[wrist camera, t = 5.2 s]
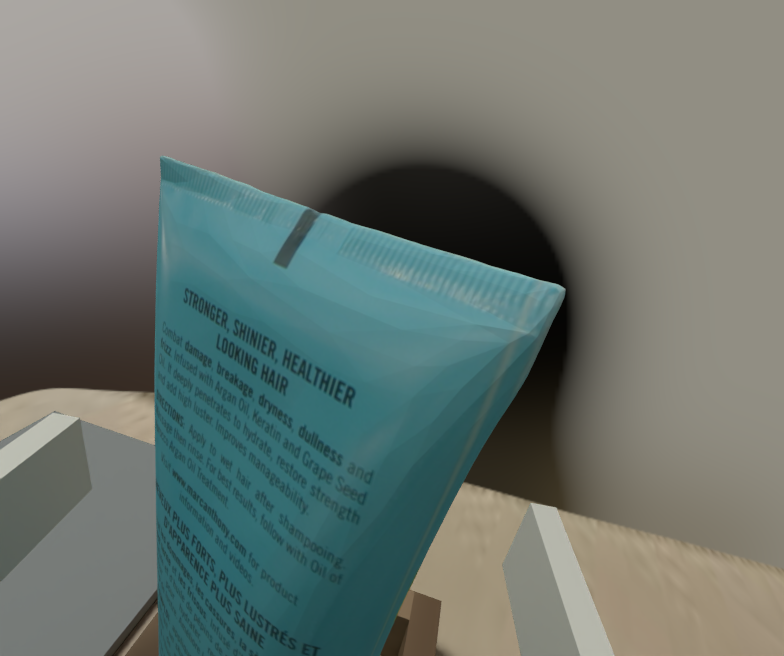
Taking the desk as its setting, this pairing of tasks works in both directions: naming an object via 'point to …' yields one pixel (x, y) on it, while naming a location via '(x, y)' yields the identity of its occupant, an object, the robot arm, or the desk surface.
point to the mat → (88, 559)
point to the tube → (313, 414)
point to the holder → (402, 647)
